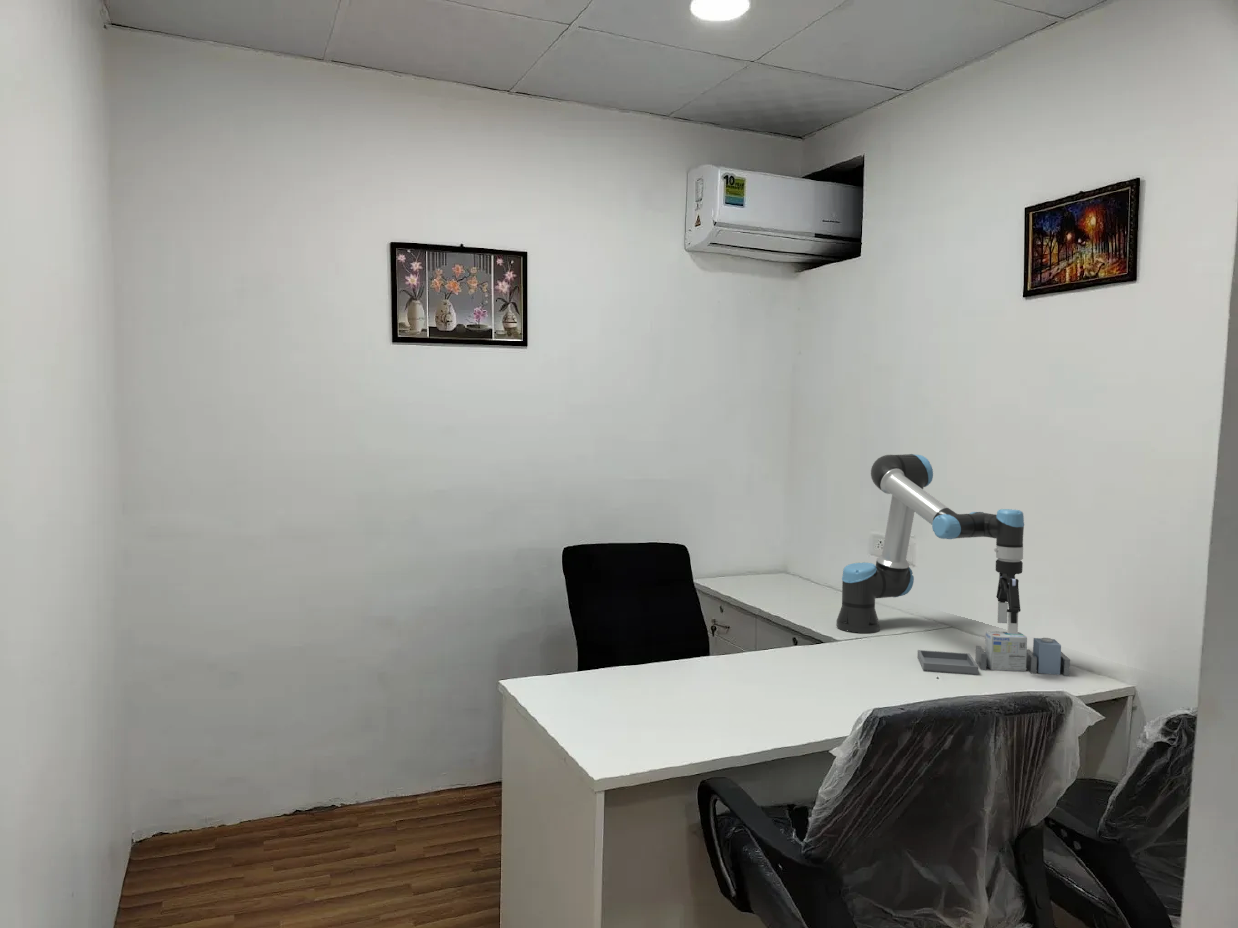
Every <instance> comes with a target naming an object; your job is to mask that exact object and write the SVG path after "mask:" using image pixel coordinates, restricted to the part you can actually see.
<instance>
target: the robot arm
mask: <svg viewBox="0 0 1238 928" xmlns="http://www.w3.org/2000/svg"><path fill="white" fill-rule="evenodd" d="M870 478H871V480H872V482H873V484H874V485H875V487H877V488H878V489H879V490H880V491H882V492H883V493H884V494H887V495H891V500H890V504H889V505H890V506H889V512H888V517H887V523H886V529H885V533H884V534H885V535H884V540H883V545H882V552H881V553H882V554H881V555H880V556H878V557H877V558H876V561H875V564H874V563H872V562H855V563H850V564H847V565H846V566H844V568H843V570H842V576H841V580H842V581H841V582H842V584H841V585H842V591H841V592H842V593H841V608H840V609H839V613H838V616H837V619H836V626H837V627H838V628H837V627H836V628H837V629H839V628H840V630H841V629H842V630H841V631H844V630H848V631H852V632H851V633H855V632H858V633H857V634H871V633H877V632H879V631H880V621H879V617H878V615H877V610H876V599H885V598H899V597H902V596H903V597H904V596H906V595H908V594H909V593H910V591H911V590H912V589H913V586H914V582H915V581H914V580H915V577H914V575H913V570H912V569H911V567H910V563H909V561H907V555H908V552H909V551H908V549H909V546H910V545H909V544H910V539H911V533H912V529H913V528H912V527H913V522H914V519H915V514H917V515H918V516H919V517H920V518H922V519H923V520H925V521H926V522H927V523H929V524H930V525H932V528H931V529H932V532H934V535H935V536H936V537H937V538H939V539H942V540H954V539H965V538H967V539H968V538H970V539H971V538H991V539H995V540H996V541H995V547H996V548H994V549H993V550H994V552H995V553H996V554H995V557H996V558H997V559H996V560H995V571H996V572H997V573H998V574H999V576H998V584H997V589H996V596H995V597H996V599H997V623H998V624H1007V631H1006V632H1007V633H1010V634H1018V632H1019V630H1018V629H1019V613H1020V612H1021V602H1020V591H1019V590H1020V589H1019V588H1020V587H1019V579H1018V578H1016V575H1019V574H1023V566H1024V565H1023V562H1022V560H1023V559H1024V528H1025V522H1024V521H1025V517H1024V512H1023V511H1022V510H1020V509H1012V508H1011V509H1010V508H1004V509H1003V508H1001V509H998V510H997V512H996V513H995V514H993V513H987V512H983V511H971V512H969V513H957V512H955V511H954V510H953V509H951V508H949V507H948V506H946V505H945V504H944V503H943V502H941V501H940V500H938V499H937V498H935V496H933V495H932V494H930V493H928V492H927V491H926V490H925V489H924V488H926V487H928V486H929V485H930V484H931V483H932V481H933V478H934V470H933V466H932V464H931V463H930V461H929V459H928V458H927V457H925V456H924V455H921V454H913V453H909V454H886V455H885V454H884V455H882V456H880V457H878V458H877V459H876V460H875V461H874V463H872V466H871V469H870ZM848 631H847V632H848Z"/></svg>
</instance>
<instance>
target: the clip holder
mask: <svg viewBox="0 0 1238 928" xmlns="http://www.w3.org/2000/svg"><path fill="white" fill-rule="evenodd" d="M974 653H975V655H974V656H975V658H974V661H975V663H976V664H977V666H978V669H980V670H981V671H987V666H986V658H987V654H986V653H985V650H984V649H983V647H982V646H980V645H975V652H974ZM1036 667H1037V657H1036V656H1035V655H1034V654H1033V651H1031V650H1030V649H1029V648H1027V659H1026V671H1028V672H1029V673H1030V674H1034V675H1036V674H1037V671H1036ZM1070 667H1071V659H1070V658H1069V657H1068V656H1067V655H1066V654H1065V653H1064V652H1062V651H1061V661H1060V674H1061V675H1062V676H1064V677H1070V672H1071V671H1070V670H1071V668H1070Z"/></svg>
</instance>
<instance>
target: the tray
mask: <svg viewBox="0 0 1238 928" xmlns="http://www.w3.org/2000/svg"><path fill="white" fill-rule="evenodd" d="M916 657H917V660H918V662H919V665H920V666H921V669H922V671H923V672H928V673H929V672H930V673H944V674H945V673H946V674H955V675H957V674H958V675H959V674H960V675H971V676H979V666H978V665H977V663H976V662H975V659H974V658H973V657H972V655H971V653H966V652H954V651H953V652H952V651H951V652H950V651H941V650H940V651H938V650H926V649H925V650H921V649H917V656H916Z"/></svg>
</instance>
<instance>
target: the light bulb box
mask: <svg viewBox="0 0 1238 928" xmlns="http://www.w3.org/2000/svg"><path fill="white" fill-rule="evenodd" d="M984 643H985V645H984V646H985V647H984V649H985V650H984V651H985V653H986V654H987V658H986V667H987V668H989V670H991V671H1012V672H1014V671H1016V672H1027V668H1026V659H1027V649H1028V637H1027V636H1026V635H1025V634H1023V633H1022V632H1020V631H1018V634H1010V633H1007V631H992V630H991V631H990V630H989V631H988V630H985V641H984Z"/></svg>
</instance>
